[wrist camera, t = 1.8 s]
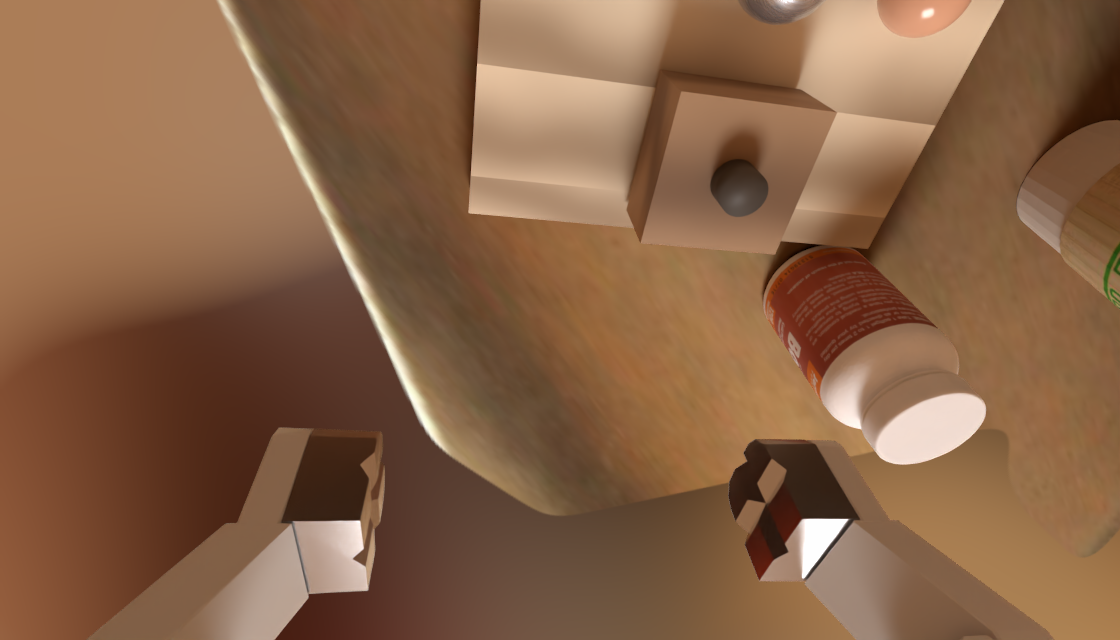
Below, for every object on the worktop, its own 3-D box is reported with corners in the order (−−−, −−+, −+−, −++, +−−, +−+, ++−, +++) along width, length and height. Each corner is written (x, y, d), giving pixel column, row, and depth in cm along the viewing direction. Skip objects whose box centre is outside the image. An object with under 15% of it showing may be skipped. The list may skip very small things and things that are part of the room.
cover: (660, 69, 22) (691, 101, 18) (800, 89, 23) (854, 123, 19) (626, 210, 25) (647, 258, 22) (749, 221, 26) (786, 269, 23)
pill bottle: (738, 297, 32) (829, 447, 24) (824, 219, 30) (963, 355, 21) (801, 342, 35) (904, 491, 26) (885, 274, 33) (1030, 415, 24)
